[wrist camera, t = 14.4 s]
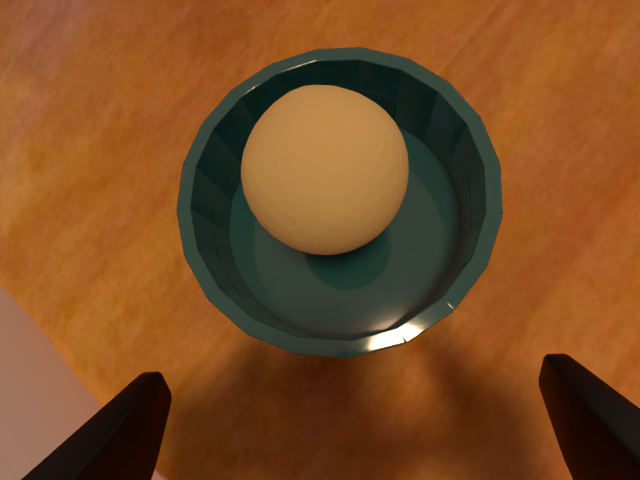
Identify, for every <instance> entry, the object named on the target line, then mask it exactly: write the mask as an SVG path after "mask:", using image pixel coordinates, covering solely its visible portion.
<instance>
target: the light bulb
mask: <svg viewBox="0 0 640 480" xmlns="http://www.w3.org/2000/svg"><path fill="white" fill-rule="evenodd" d="M408 173H409V167H408V153H407V149H406V146H405V142H404V138H403V136H402V134H401V132H400V130H399V128H398V127H397V125H396V123H395V122H394V120H393V119H392V118H391V117H390V116H389V114H388V113H387V112H386V111H385V110H384V109H382V108H381V107H380V106H379V105H378V104H377V103H375V102H373V101H372V100H370V99H368V98H367V97H365V96H363V95H361V94H360V93H358V92H354V91H351V90H348V89H344V88H341V87H337V86H331V85H308V86H302V87H300V88H297V89H295V90H292V91H290V92H288V93H287V94H285V95H284V96H283V97H281V98H280V99H278V100H277V101H276V102H274V103H273V104H272V105H271V106H270V108H269V109H268V110H267V111H266V112H265V113H264V114H263V115H262V116H261V118H260V119H259V120H258V122H257V123H256V124H255V126H254V128H253V130H252V132H251V134H250V136H249V138H248V141H247V143H246V146H245V149H244V152H243V157H242V164H241V180H242V185H243V191H244V195H245V197H246V200H247V202H248V204H249V207H250V209H251V211H252V212H253V214H254V215H255V216H256V218H257V219H258V221H259V222H260V224H261V225H262V226H263V227H264V228H265V229H266V230H267V231H268V232H269V233H270V234H271V235H272V236H273V237H275V238H276V239H278V240H279V241H281V242H282V243H284V244H285V245H287V246H289V247H291V248H293V249H296V250H299V251H302V252H306V253H310V254H318V255H333V254H341V253H345V252H349V251H352V250H354V249H357V248H359V247H361V246H363V245H365V244H367V243H368V242H370V241H371V240H373V239H374V238H376V237H377V236H378V235H380V234H381V232H382V231H383V230H384V229H385V228H386V227H387V226H388V225H389V224H390V223H391V221H392V220H393V218H394V217H395V215H396V214H397V212H398V210H399V208H400V206H401V203H402V201H403V198H404V195H405V193H406V189H407V183H408Z"/></svg>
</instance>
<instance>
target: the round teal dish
mask: <svg viewBox="0 0 640 480" xmlns="http://www.w3.org/2000/svg"><path fill="white" fill-rule="evenodd" d="M308 85H331V86H337V87H341V88H344V89H348V90H351V91H354V92H358V93H360V94H361V95H363V96H365V97H367V98H368V99H370V100H372V101H373V102H375V103H377V104H378V105H379V106H380V107H381V108H382V109H384V110H385V111H386V112H387V113H388V114H389V116H390V117H391V118H392V119H393V120H394V122H395V123H396V125H397V127H398V128H399V130H400V132H401V134H402V136H403V138H404V142H405V146H406V149H407V153H408V167H409V173H408V183H407V189H406V193H405V195H404V198H403V201H402V203H401V206H400V208H399V210H398V212H397V214H396V215H395V217H394V218H393V220H392V221H391V223H390V224H389V225H388V226H387V227H386V228H385V229H384V230H383V231H382V232H381V234H380V235H378V236H377V237H376V238H374V239H373V240H371V241H370V242H368V243H367V244H365V245H363V246H361V247H359V248H357V249H354V250H352V251H349V252H345V253H341V254H333V255H318V254H310V253H306V252H302V251H299V250H296V249H293V248H291V247H289V246H287V245H285V244H284V243H282V242H281V241H279V240H278V239H276V238H275V237H273V236H272V235H271V234H270V233H269V232H268V231H267V230H266V229H265V228H264V227H263V226H262V225H261V224H260V222H259V221H258V219H257V218H256V216H255V215H254V214H253V212H252V211H251V209H250V207H249V204H248V202H247V200H246V197H245V195H244V191H243V185H242V180H241V164H242V157H243V152H244V149H245V146H246V143H247V141H248V138H249V136H250V134H251V132H252V130H253V128H254V126H255V124H256V123H257V122H258V120H259V119H260V118H261V116H262V115H263V114H264V113H265V112H266V111H267V110H268V109H269V108H270V106H271V105H272V104H273V103H274V102H276V101H277V100H278V99H280V98H281V97H283V96H284V95H285V94H287V93H288V92H290V91H292V90H295V89H297V88H300V87H302V86H308ZM480 118H481V117H480V116H479V115H478V114H477V112H476V111H475V110H474V109H473V108H472V107H471V106H470V105H469V104H468V102H467V101H466V100H465V99H464V98H463V97H462V96H461V95H460V94H459V92H458V91H457V90H456V89H455V88H454V87H453V86H452V85H451V84H450V83H449V82H448V81H447V80H445V79H443V78H441V77H440V76H438V75H436V74H434V73H433V72H431V71H429V70H428V69H426V68H424V67H422V66H421V65H419V64H417V63H415V62H414V61H412V60H410V59H407V58H405V57H401V56H397V55H392V54H388V53H384V52H380V51H375V50H371V49H367V48H361V47H355V48H333V49H316V50H312V51H309V52H306V53H302V54H299V55H296V56H293V57H290V58H287V59H284V60H281V61H278V62H275V63H272V65H271V64H270V65H268V66H267V67H265V68H264V69H262V70H261V71H259V72H258V73H256V74H255V75H253V76H252V77H250V78H248V79H247V80H245V81H244V82H242V83H241V84H239V85H238V86H236V87H235V88H234V89H232V90H231V91H230V92H229V93H228V94H227V95H226V97H225V98H224V99H223V100H222V101H221V102H220V103H219V105H218V106H217V107H216V108H215V109H214V110H213V111H212V112H211V114H210V115H209V116H208V117H207V118H206V119H205V120H204V122H203V124H202V125H201V127H200V129H199V131H198V133H197V135H196V137H195V140H194V142H193V144H192V146H191V148H190V150H189V152H188V154H187V157H186V159H185V161H184V163H183V167H182V174H181V181H180V188H179V195H178V202H177V217H178V223H179V229H180V234H181V240H182V246H183V251H184V256H185V259H186V261H187V262H188V264H189V266H190V268H191V270H192V272H193V273H194V275H195V277H196V279H197V281H198V282H199V284H200V286H201V288H202V290H203V292H204V293H205V295H206V297H207V298H208V300H209V301H210V302H211V303H212V304H213V305H214V306H215V307H217V308H218V309H219V310H220V311H221V312H222V313H223V314H224V315H225V316H227V317H228V318H229V319H230V320H231V321H232V322H233V323H234V324H235V325H237V326H238V327H239V328H240V329H241V330H242V331H243V332H244V333H246V334H247V335H250V336H252V337H254V338H257V339H259V340H262V341H264V342H266V343H269V344H271V345H274V346H276V347H278V348H281V349H283V350H285V351H288V352H290V353H293V354H296V355H309V356H324V357H340V358H351V357H352V358H354V357H357V356H361V355H365V354H369V353H372V352H376V351H380V350H383V349H387V348H391V347H395V346H398V345H402V344H405V343H408V342H409V341H411V340H412V339H414V338H415V337H417V336H418V335H420V334H421V333H423V332H424V331H426V330H427V329H429V328H430V327H432V326H433V325H434V324H436V323H437V322H439V321H440V320H442V319H443V318H445V317H446V316H448V315H449V314H451V313H452V312H453V311H454V310H455V309H456V308H457V307H458V305H459V304H460V303H461V301H462V300H463V299H464V297H465V296H466V295H467V293H468V292H469V291H470V289H471V288H472V286H473V285H474V284H475V282H476V281H477V280H478V278H479V277H480V276H481V274H482V273H483V272H484V270H485V269H486V266H487V265H488V263H489V260H490V256H491V253H492V250H493V246H494V243H495V240H496V237H497V233H498V230H499V227H500V224H501V220H502V214H503V205H502V186H501V167H500V162H499V159H498V157H497V155H496V152H495V150H494V148H493V145H492V143H491V140H490V138H489V136H488V133H487V131H486V129H485V126H484V124H483V121H482V119H480Z"/></svg>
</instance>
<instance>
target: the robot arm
mask: <svg viewBox="0 0 640 480" xmlns="http://www.w3.org/2000/svg"><path fill="white" fill-rule="evenodd" d="M539 387H540V391H541V394H542V397H543V400H544V403H545V405H546V408H547V411H548V414H549V417H550V420H551V423H552V426H553V429H554V432H555V435H556V438H557V441H558V444H559V447H560V449H561V452H562V455H563V457H564V460H565V462H566V465H567V467H568V469H569V472H570V474H571V476H572V478H573V480H640V408H638V407H637V406H636V405H634V404H633V403H632V402H630V401H629V400H628V399H626V398H625V397H624V396H622V395H621V394H620V393H618V392H617V391H616V390H614V389H613V388H612V387H610V386H609V385H608V384H606V383H605V382H604V381H602V380H601V379H600V378H598V377H597V376H596V375H594V374H593V373H592V372H590V371H589V370H588V369H586V368H585V367H584V366H582V365H581V364H580V363H578V362H577V361H576V360H574V359H573V358H572V357H570V356H569V355H566V354H547V355H546V356H545V357H544V359H543V363H542V367H541V371H540V375H539ZM171 400H172V396H171V392H170V389H169V387H168V385H167V383H166V382H165V380H164V378H163V376H162V374H161V373H160V372H144V373H142V374H140V375H139V376H138V377H137V378H136V379H134V380H133V381H132V382H131V383H130V384H129V385H128V386H127V387H125V388H124V389H123V390H122V391H121V392H120V393H119V394H117V395H116V396H115V397H114V398H113V399H112V400H111V401H110V402H108V403H107V404H106V405H105V406H104V407H103V408H102V409H101V410H99V411H98V412H97V413H96V414H95V415H94V416H93V417H91V418H90V419H89V420H88V421H87V422H86V423H85V424H84V425H82V426H81V427H80V428H79V429H78V430H77V431H76V432H75V433H73V434H72V435H71V436H70V437H69V438H68V439H67V440H65V442H63V443H62V444H61V445H60V446H59V447H58V448H57V449H55V450H54V451H53V452H52V453H51V454H50V455H49V456H48V457H46V458H45V459H44V460H43V461H42V462H41V463H40V464H38V465H37V466H36V467H35V468H34V469H33V470H32V471H30V472H29V473H28V474H27V475H26V476H25V477H24V478H23V479H21V480H151V478H152V475H153V472H154V469H155V466H156V463H157V459H158V455H159V451H160V447H161V443H162V439H163V435H164V430H165V426H166V422H167V418H168V414H169V410H170V405H171Z"/></svg>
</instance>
